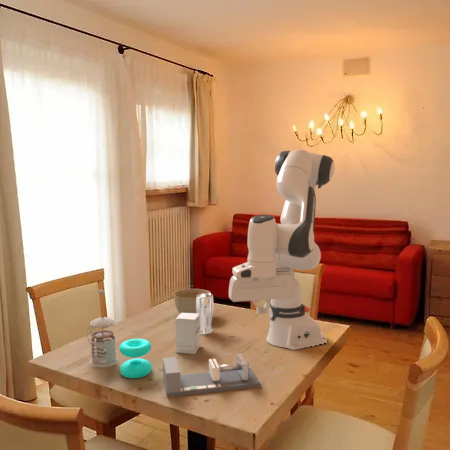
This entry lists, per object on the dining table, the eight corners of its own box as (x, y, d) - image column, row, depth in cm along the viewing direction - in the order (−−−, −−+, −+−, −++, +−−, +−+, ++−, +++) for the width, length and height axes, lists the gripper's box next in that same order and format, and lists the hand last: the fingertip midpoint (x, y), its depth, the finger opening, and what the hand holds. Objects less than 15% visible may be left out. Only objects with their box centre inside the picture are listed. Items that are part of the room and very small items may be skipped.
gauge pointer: (215, 370, 147) (215, 358, 146) (219, 380, 140) (219, 367, 140) (208, 371, 146) (208, 359, 146) (212, 381, 140) (212, 367, 139)
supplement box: (195, 354, 166) (195, 319, 164) (175, 352, 167) (174, 318, 166) (200, 346, 173) (200, 313, 171) (181, 345, 174) (180, 311, 173)
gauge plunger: (242, 368, 150) (242, 353, 149) (249, 379, 142) (249, 363, 141) (215, 371, 148) (215, 355, 147) (220, 382, 140) (220, 366, 139)
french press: (103, 370, 154) (100, 295, 150) (79, 362, 160) (75, 290, 156) (124, 359, 162) (122, 288, 159) (100, 352, 168) (97, 284, 165)
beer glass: (204, 327, 192) (204, 292, 191) (217, 331, 188) (217, 295, 186) (192, 332, 187) (192, 295, 185) (205, 336, 183) (205, 299, 181)
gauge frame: (250, 371, 152) (250, 349, 151) (260, 386, 141) (260, 364, 140) (163, 380, 146) (162, 358, 145) (166, 397, 135) (166, 373, 134)
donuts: (132, 351, 143) (112, 343, 150) (133, 382, 145) (113, 373, 151) (157, 342, 151) (137, 334, 157) (158, 372, 152) (138, 363, 159)
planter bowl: (205, 325, 196) (205, 299, 195) (168, 322, 200) (168, 297, 198) (215, 313, 211) (215, 289, 210) (181, 310, 215) (180, 287, 214)
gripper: (290, 265, 148) (290, 307, 150) (227, 268, 144) (227, 312, 145) (298, 269, 142) (297, 313, 144) (232, 273, 137) (232, 318, 139)
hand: (261, 313), depth 144 cm, fingers closed
